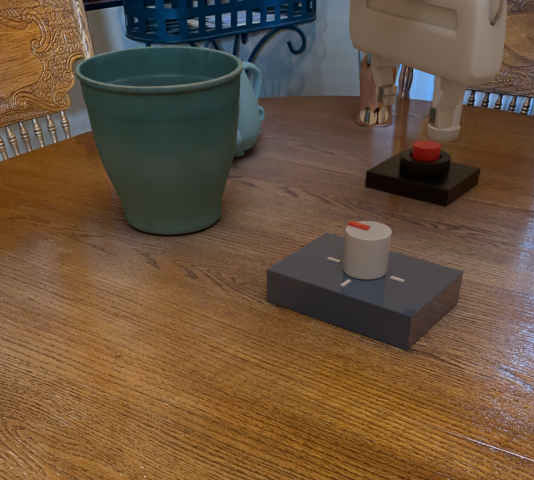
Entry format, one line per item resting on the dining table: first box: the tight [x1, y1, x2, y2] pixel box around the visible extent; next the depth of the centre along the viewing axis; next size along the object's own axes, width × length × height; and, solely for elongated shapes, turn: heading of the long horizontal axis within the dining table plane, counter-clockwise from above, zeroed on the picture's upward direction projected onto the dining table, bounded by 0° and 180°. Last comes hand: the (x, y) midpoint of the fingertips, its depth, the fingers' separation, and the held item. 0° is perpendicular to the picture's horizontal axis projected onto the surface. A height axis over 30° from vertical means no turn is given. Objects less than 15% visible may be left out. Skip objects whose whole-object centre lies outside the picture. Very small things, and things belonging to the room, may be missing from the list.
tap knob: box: [343, 220, 393, 280], centre depth 67 cm, size 4×4×4 cm
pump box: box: [364, 147, 481, 208], centre depth 94 cm, size 12×10×4 cm
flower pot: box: [75, 45, 243, 236], centre depth 82 cm, size 18×18×17 cm
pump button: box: [412, 139, 442, 161], centre depth 92 cm, size 4×4×2 cm
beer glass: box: [355, 49, 401, 128], centre depth 112 cm, size 7×7×15 cm
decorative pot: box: [205, 47, 266, 158], centre depth 102 cm, size 16×16×14 cm
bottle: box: [426, 76, 466, 143], centre depth 103 cm, size 5×5×25 cm
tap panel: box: [266, 231, 464, 351], centre depth 70 cm, size 16×11×4 cm
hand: (411, 115), depth 73 cm, fingers open, 8 cm apart
